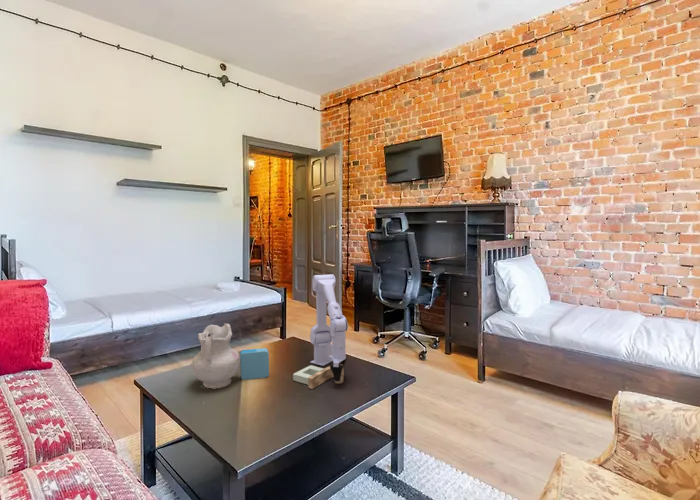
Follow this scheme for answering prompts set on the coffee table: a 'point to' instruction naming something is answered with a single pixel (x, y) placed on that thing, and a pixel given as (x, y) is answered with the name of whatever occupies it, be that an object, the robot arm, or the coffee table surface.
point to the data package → (254, 363)
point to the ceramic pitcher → (215, 357)
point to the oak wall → (320, 377)
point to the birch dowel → (341, 377)
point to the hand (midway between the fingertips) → (338, 377)
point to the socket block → (306, 374)
